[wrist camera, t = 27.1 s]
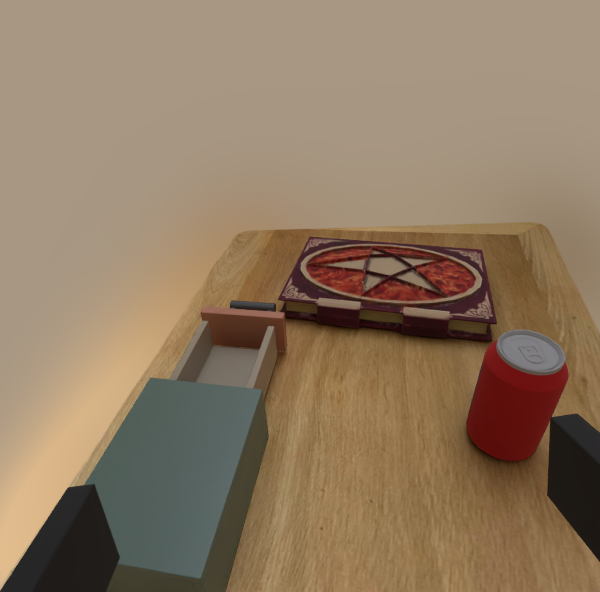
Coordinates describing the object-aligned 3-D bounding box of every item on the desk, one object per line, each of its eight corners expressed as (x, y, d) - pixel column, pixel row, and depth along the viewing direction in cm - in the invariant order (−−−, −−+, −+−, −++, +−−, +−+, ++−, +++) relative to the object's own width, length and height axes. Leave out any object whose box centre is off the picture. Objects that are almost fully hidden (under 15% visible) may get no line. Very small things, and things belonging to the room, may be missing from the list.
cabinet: (166, 422, 48) (150, 377, 43) (268, 435, 46) (262, 388, 41) (78, 592, 34) (43, 550, 30) (217, 620, 32) (200, 579, 28)
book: (477, 265, 72) (483, 238, 69) (492, 347, 55) (501, 316, 52) (310, 251, 78) (310, 226, 75) (277, 321, 61) (275, 291, 58)
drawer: (220, 318, 61) (214, 287, 58) (293, 324, 59) (291, 292, 56) (160, 435, 45) (147, 401, 42) (256, 448, 43) (251, 413, 40)
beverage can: (517, 408, 47) (549, 322, 40) (549, 464, 41) (592, 375, 34) (455, 412, 47) (476, 326, 40) (478, 468, 41) (508, 380, 34)
